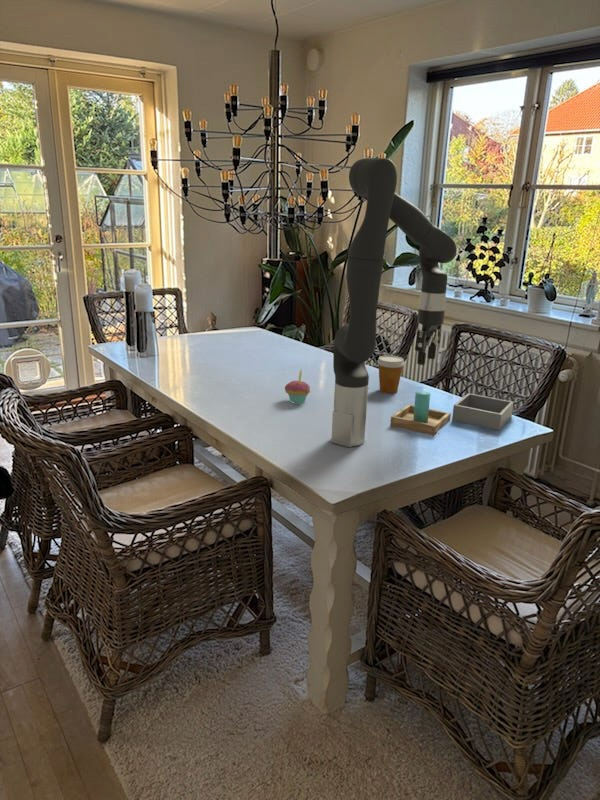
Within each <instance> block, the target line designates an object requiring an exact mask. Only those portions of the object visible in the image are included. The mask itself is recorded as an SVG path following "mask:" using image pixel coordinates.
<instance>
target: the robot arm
mask: <svg viewBox="0 0 600 800" xmlns="http://www.w3.org/2000/svg"><path fill="white" fill-rule="evenodd" d="M348 181H349V186H350V187H351V189H352V191H353V192H354V193H356V194H357V195H358V196H360V197H361V198H362V199H363V200H365V201H366V207H365V212H364V213H365V214H364V218H363V221H362V223H361V224H360V227H359V229H358V230H357V232H356V233H355V236H354V237H353V239H352V241H351V243H350V246H349V249H348V252H347V253H348V255H347V260H346V261H347V262H346V270H345V271H346V272H345V274H346V275H345V276H346V277H345V278H346V286H347V294H348V299H349V309H350V310H349V312H350V313H349V321H348V323H346V324H344V325H342V326H341V327H340V328H339V329H338V330H337V331H336V333H335V335H334V336H335V337H334V340H333V359H332V360H333V364H332V365H333V366H332V367H333V373H334V379H335V380H334V381H335V382H334V395H333V396H334V397H333V398H334V399H333V400H334V401H333V411H332V419H331V420H332V424H331V443H332V444H336V445H338V446H339V445H340V446H344V447H347V448H352V447H357V446H360V445H363V444H364V443H365V438H366V437H365V436H366V422H367V410H368V393H369V381H370V380H369V379H370V375H369V372H368V370H367V368H366V362H367V361H368V360H369V359H370V358H372V356H373V354H374V353H375V348H376V344H377V343H376V341H377V340H376V339H377V314H378V313H377V311H378V304H379V303H378V302H379V297H380V295H379V294H380V286H381V280H382V276H383V275H382V274H383V268H384V267H383V266H384V260H385V259H384V257H385V247H386V241H387V234H388V228H389V222H390V221H392V222H393V223H394V224H395V225H396V226H397V227H398V228H399V230H401V232H403V233H404V234H405V235H406V236H407V238H408V239H410V242H412V243H413V244H415V245H417V246H419V251H418V258H419V263H420V269H421V276H422V280H421V291H420V295H419V301H418V309H417V310H418V312H417V321H416V322H417V323H418V324H419V325H422V326H421V330H419V329H417V331H416V336H415V337H416V339H415V346H414V351H417V361H416V364H417V365H420V366H425V365H426V357H427V358H428V359H429V360H430V359H431V360H435V359H436V356H437V354H436V353H437V348H438V345H439V344H440V343H441V336H442V334H441V333H442V326H443V324H444V323H445V322H444V320H445V312H446V302H447V296H446V295H447V286H448V274H447V273H446V272H444V271H443V270H442V269H440V265H439V263H440V264H448V263H450V262H452V261H453V260H454V259H455V257H456V255H457V252H458V250H457V244H456V242H455V241H454V239H453V238H452V237H451V235H449V234H447V233H446V232H445V231H443V230H442V229H440V228H439V227H438V226H436V225H435V224H433V222H432V221H431V220H430V219H429V218H428V216H427V215H425V213H424V212H423V211H421V209H420V208H418V207H417V206H416V205H415V204H413V203H411V202H410V201H408V200H407V199H405V198H403V197H402V196H401V195H399V194H398V193H396V188H397V183H398V173H397V166H396V164H395V163H394V162H393V161H392V160H391V159H390V158H386V157H367V158H361V159H358V160H356V161H355V162H353V164H352V165H351V167H350V169H349V173H348ZM389 220H390V221H389ZM427 350H428V351H427Z"/></svg>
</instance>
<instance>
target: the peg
mask: <svg viewBox="0 0 600 800" xmlns="http://www.w3.org/2000/svg"><path fill="white" fill-rule="evenodd" d="M430 400H431V393H430V392H428V391H425V390H424V391H422V390H420V391H416V392H415V395H414V418H413V420H414V421H418V422H423V423H427V422H428V414H429V409H430Z"/></svg>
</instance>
